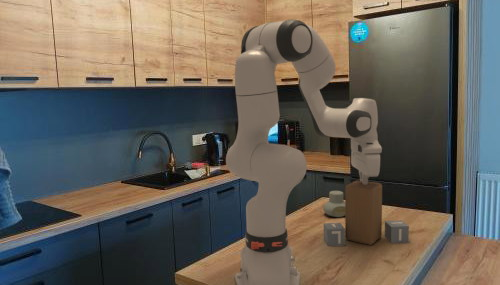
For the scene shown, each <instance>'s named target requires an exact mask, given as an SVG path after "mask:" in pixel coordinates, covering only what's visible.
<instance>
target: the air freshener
mask: <svg viewBox="0 0 500 285" xmlns="http://www.w3.org/2000/svg"><path fill="white" fill-rule="evenodd" d="M328 195H329V196H328V200H329V201H326V202H325V203H324V204H323V208H322V209H323V212H324V213H325V214H326V215H327V216H330V217H333V218H342V217H345V201H344V192H343V191H341V190H331V191H329V194H328Z"/></svg>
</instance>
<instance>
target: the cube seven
mask: <svg viewBox="0 0 500 285" xmlns="http://www.w3.org/2000/svg"><path fill="white" fill-rule="evenodd" d="M323 241H324V242H325V244H326V246H327V247H333V246H336V247H337V246H338V247H339V246H346V238H345V226H343V224H342V223H341V222H327V223H326V222H325V223H323Z"/></svg>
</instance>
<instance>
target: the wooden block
mask: <svg viewBox="0 0 500 285" xmlns="http://www.w3.org/2000/svg"><path fill="white" fill-rule="evenodd" d="M344 187H345V189H344V190H345V195H344V198H345V201H344V202H345V216H344V218H345V219H344V222H345V223H344V224H345V225H344V228H345V240H347V241H352V242H357V243H361V244H364V245H369V246H370V245H373V244H375V242H377V241H378V240H379V239H380V238H381V237H382V233H383V232H382V229H383V228H382V226H383V225H382V224H383V222H382V219H383V185H382V183H380V182H376V181H375V182H373V181H368V184H367V185H363V184H362V183H361V182H360V179H358V180H355V181H352V182H350V183H348V184H346V185H345V186H344Z"/></svg>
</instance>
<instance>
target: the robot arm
mask: <svg viewBox="0 0 500 285" xmlns="http://www.w3.org/2000/svg"><path fill="white" fill-rule="evenodd" d="M240 44H241V45H240V47H241V49H240V54H239V55H238V57H237V58H236V60H235V66H234V87H235V98H236V100H235V101H236V107H237V117H238V118H237V120H238V125H237V126H238V127H237V133H236V138H235V140H234V143H233V144H232V145H231V146H230V147H229V149H228V150H227V153H226V155H225V156H226V157H225V164H226V167H227V169H228V171H229V172H230V173H231V174H233V175H235V176H236V177H238V178H241V179H242V180H247V181H253V182H257V183H258V189H257V193H256V195H254V196H252V197H251V198H250V199H249V200H248V201H247V203H246V206H245V216H246V217H245V218H246V220H245V221H246V222H245V223H246V229H245V232H244V233H245V234H244V240H245V241H244V242H245V245H244V246H243V247H242V249H240V271H239V272H237V273H236V274H234V281H235V284H236V285H301V272H300V271H298V267H297V266H296V265H295V266H293V264H294V263H293V262H295V261H296V260H295V259H296V258H295V257H296V256H293V247H292V246H290V245H289V240H288V239H289V234H288V230H287V226H286V222H287V221H286V220H287V218H286V216H287V214H286V213H287V202H288V198H289V195H290V194H291V192H292V190H293V189H294V187H296V186H297V185H299V184H300V183H301V182H302V180H303V179H304V178H305V176H306V173H307V166H308V163H307V159H306V156H305V154H304V153H303V151H301V150H300V149H297V148H295V147H292V146H289V145H287V144H279V143H270V142H269V134H270V131H271V129H272V128H274V127H275V126H276V125H277V124H278V123H279V121H280V116H281V114H280V105H279V95H278V87H277V79H276V76H275V74H276V73H275V72H276V68H277V66H278V65H280V64H287V63H291V64H292V65H293V67H294V69H295V71H296V72H297V74H298V77H299V78H298V82H297V83H298V89H299V92H300V95H301V96H302V99H303V101H304V103H305V106H306V108H307V110H308V112H309V115H310V117H311V120H312V126H313V128H314V130H315V132H316V134H317V135H318V136H320V137H321V138H343V139H344V138H345V139H350V150H351V151H350V152H351V155H350V163H351V166H352V167H353V168H355V169H356V170H358V174H359V181H360V182H361V183H362V184H363V185H367V184H368V182H369V178H370V177H372V178H373V177H374V178H375V177H378V176H379V174H380V169H381V153H382V152H383V151H382V150H383V147H382V146H381V144H380V143H379V140H378V138H379V137H378V130H377V128H378V124H379V116H378V115H379V114H378V113H379V112H378V106H377V102H376V100H375V99H373V98H370V97H364V96H363V97H355V98H353V99H352V103H350V105H348V107H346V108H333V107H330V106H328V105H326V103H325V100H324V98H323V95H322V93H321V91H320V90H322V89H323V88H324V87H326V86H327V85H329V83H330V82H331V81H332V79H333V78H334V75H335V74H336V68H337V66H336V62H335V59H334V57H333V56H332V53H331V52H330V50H329V48H328V47H327V46H328V45H326V43H325V41H324V40H323V39H322V37H321V36H320V34H319V32H317V30H316V29H315V28H314V27H313V26H311V25H309V24H306V23H305V22H304V21H302V20H299V19H286V20H279V21H270V22H266V23H263V24H260V25H257V26H256V25H255V26H254V27H251V28H249V29H248V30H247V31H246V32H245V33H244V34H243V36H242V39H241V43H240Z"/></svg>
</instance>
